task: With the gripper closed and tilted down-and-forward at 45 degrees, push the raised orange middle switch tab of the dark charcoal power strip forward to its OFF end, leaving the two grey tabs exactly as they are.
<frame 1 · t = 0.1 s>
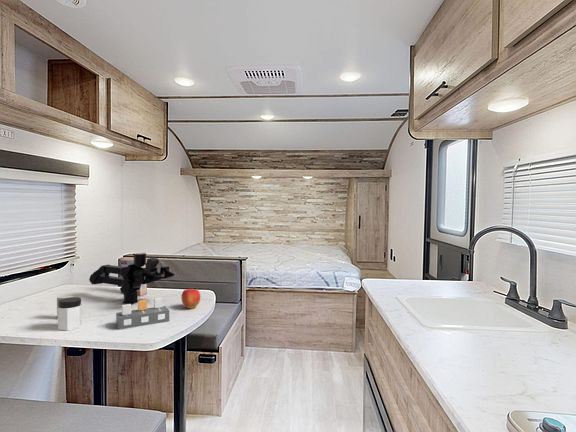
hand: (167, 276, 175), 17 cm above the table, tool horizontal, fingers open, 9 cm apart
cracker box: (134, 294, 203), on the table
tab 2: (142, 305, 156), point 7 cm above the table, slide at 0.0 cm
skincare box: (65, 318, 159), on the table
tab 1: (126, 309, 150), point 7 cm above the table, slide at 3.5 cm
tab 3: (158, 302, 160), point 7 cm above the table, slide at 0.0 cm
apple: (190, 308, 178), on the table
jar: (70, 327, 148), on the table
power strip: (143, 322, 155), on the table
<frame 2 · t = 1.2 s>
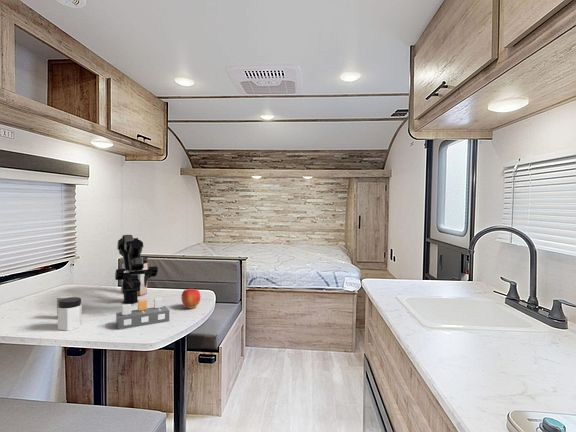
hand: (139, 287, 163), 14 cm above the table, tool tilted 45°, fingers open, 5 cm apart
nothing on the table moved.
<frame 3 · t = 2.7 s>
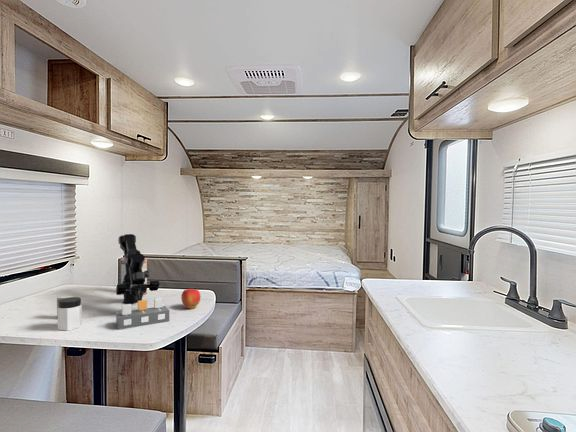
hand: (140, 302, 161), 7 cm above the table, tool tilted 45°, fingers closed
nothing on the table moved.
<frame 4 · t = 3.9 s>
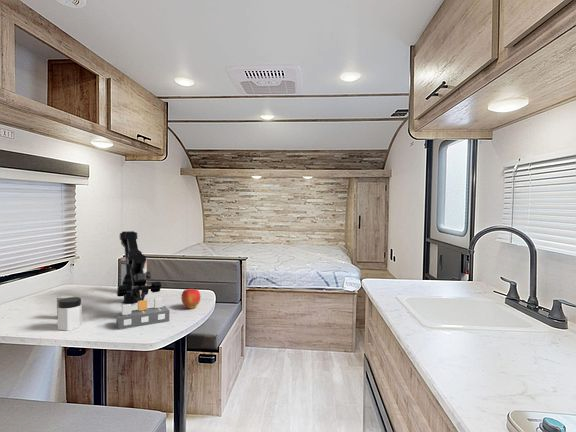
hand: (141, 304, 157), 7 cm above the table, tool tilted 45°, fingers closed, pressing on tab 2
tab 2: (142, 305, 156), point 7 cm above the table, slide at 0.3 cm, touching gripper
everything else where it was.
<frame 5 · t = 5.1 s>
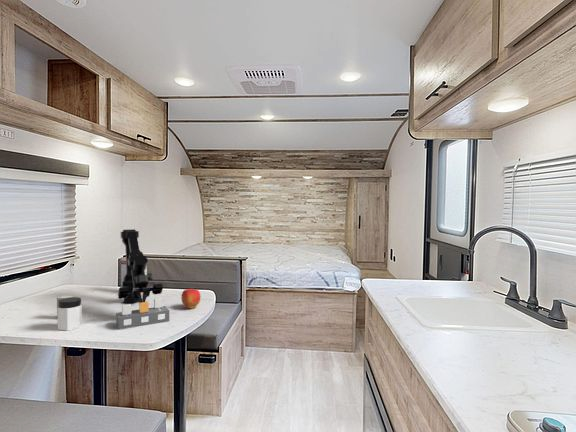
hand: (143, 306, 154), 7 cm above the table, tool tilted 45°, fingers closed, pressing on tab 2
tab 2: (143, 307, 153), point 7 cm above the table, slide at 3.7 cm, touching gripper
everything else where it was.
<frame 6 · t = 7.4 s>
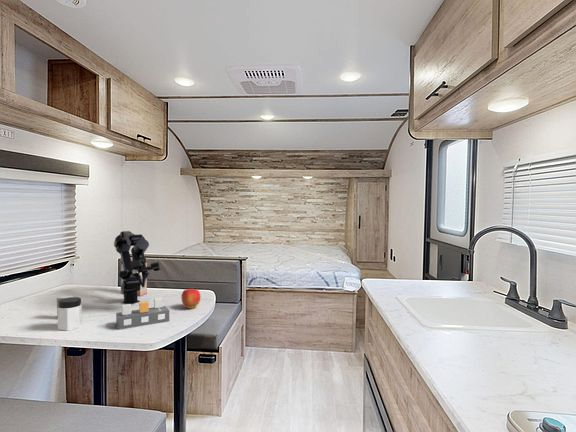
hand: (143, 287, 168), 13 cm above the table, tool tilted 30°, fingers closed
tab 2: (143, 307, 153), point 7 cm above the table, slide at 3.7 cm
everything else where it was.
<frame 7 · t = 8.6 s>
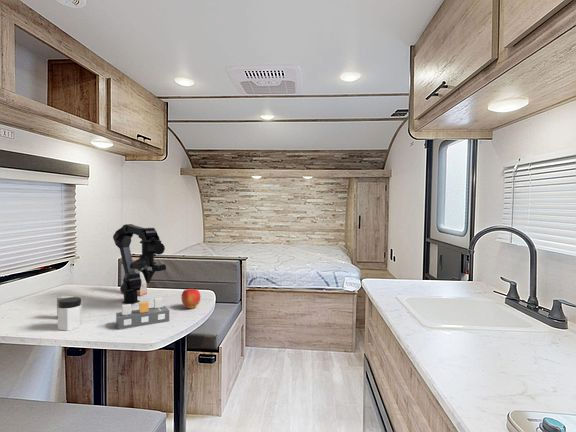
hand: (147, 283, 175), 13 cm above the table, tool pointing down, fingers closed
nothing on the table moved.
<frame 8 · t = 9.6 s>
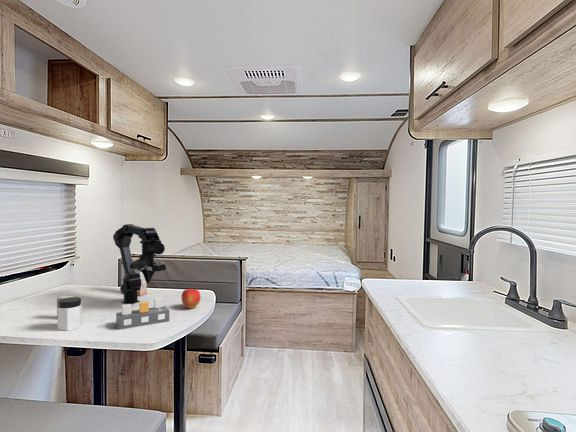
hand: (147, 283, 175), 13 cm above the table, tool pointing down, fingers closed
nothing on the table moved.
at the end: tab 2 slide at 3.7 cm; tab 3 slide at 0.0 cm; tab 1 slide at 3.5 cm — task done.
